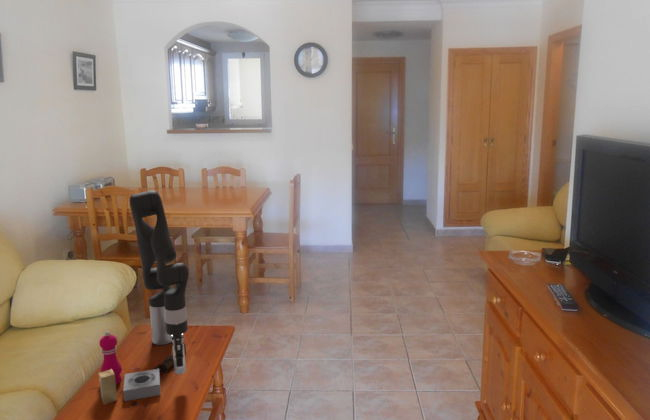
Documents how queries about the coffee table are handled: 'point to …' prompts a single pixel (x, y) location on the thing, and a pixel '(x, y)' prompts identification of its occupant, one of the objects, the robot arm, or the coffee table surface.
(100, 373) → the pale wooden block
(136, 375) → the bore block
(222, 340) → the coffee table surface
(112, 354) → the pepper mill
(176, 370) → the round bit
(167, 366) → the hand tool
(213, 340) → the coffee table surface
